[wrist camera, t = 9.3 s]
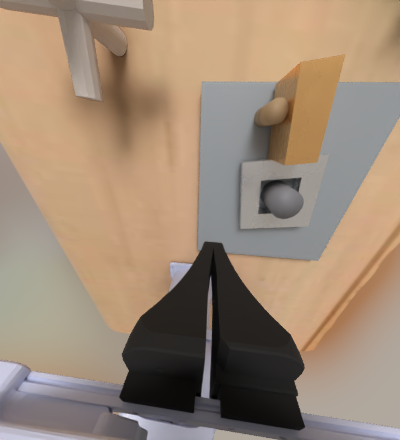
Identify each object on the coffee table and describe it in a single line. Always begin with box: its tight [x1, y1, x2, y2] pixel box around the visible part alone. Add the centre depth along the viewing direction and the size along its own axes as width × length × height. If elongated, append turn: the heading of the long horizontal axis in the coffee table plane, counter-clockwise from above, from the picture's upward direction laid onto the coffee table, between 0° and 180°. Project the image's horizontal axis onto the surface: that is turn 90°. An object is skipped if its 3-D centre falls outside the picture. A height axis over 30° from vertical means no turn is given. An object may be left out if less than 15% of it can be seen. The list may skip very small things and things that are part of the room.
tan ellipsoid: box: [254, 97, 289, 127], centre depth 13 cm, size 2×2×4 cm
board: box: [198, 82, 400, 261], centre depth 17 cm, size 20×18×5 cm
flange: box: [239, 55, 345, 229], centre depth 14 cm, size 14×8×4 cm, turn 6°
